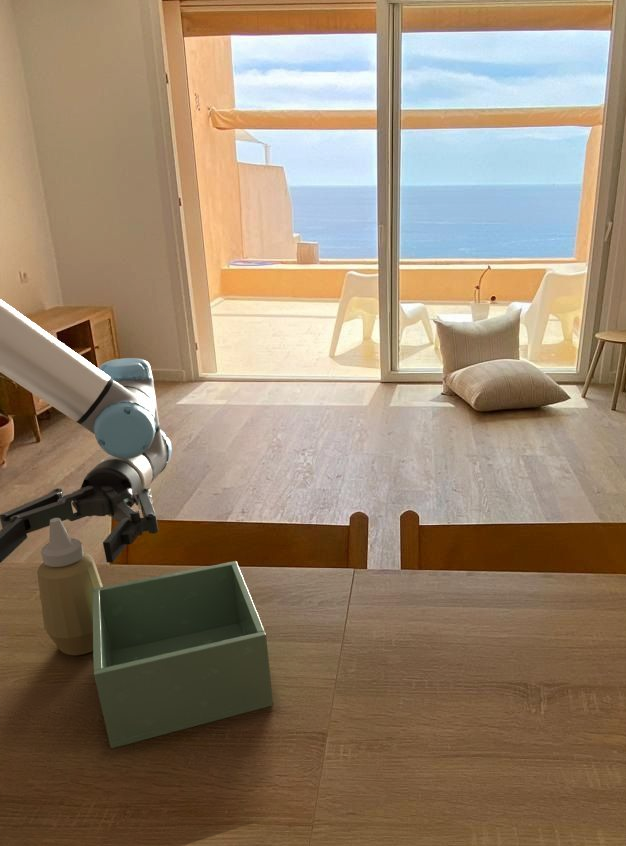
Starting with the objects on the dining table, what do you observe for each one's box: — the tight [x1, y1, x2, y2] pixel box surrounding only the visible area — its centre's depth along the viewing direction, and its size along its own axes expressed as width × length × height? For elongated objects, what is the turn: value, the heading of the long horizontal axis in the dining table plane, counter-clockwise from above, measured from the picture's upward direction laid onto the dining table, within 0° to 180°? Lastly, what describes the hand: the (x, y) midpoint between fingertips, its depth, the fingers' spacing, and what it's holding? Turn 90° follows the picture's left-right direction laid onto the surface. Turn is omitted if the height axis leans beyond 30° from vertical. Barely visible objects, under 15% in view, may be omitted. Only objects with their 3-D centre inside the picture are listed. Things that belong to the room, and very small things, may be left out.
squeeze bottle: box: [36, 518, 104, 656], centre depth 87 cm, size 8×8×18 cm
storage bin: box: [92, 560, 274, 749], centre depth 82 cm, size 18×18×10 cm
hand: (51, 552), depth 82 cm, fingers open, 13 cm apart
